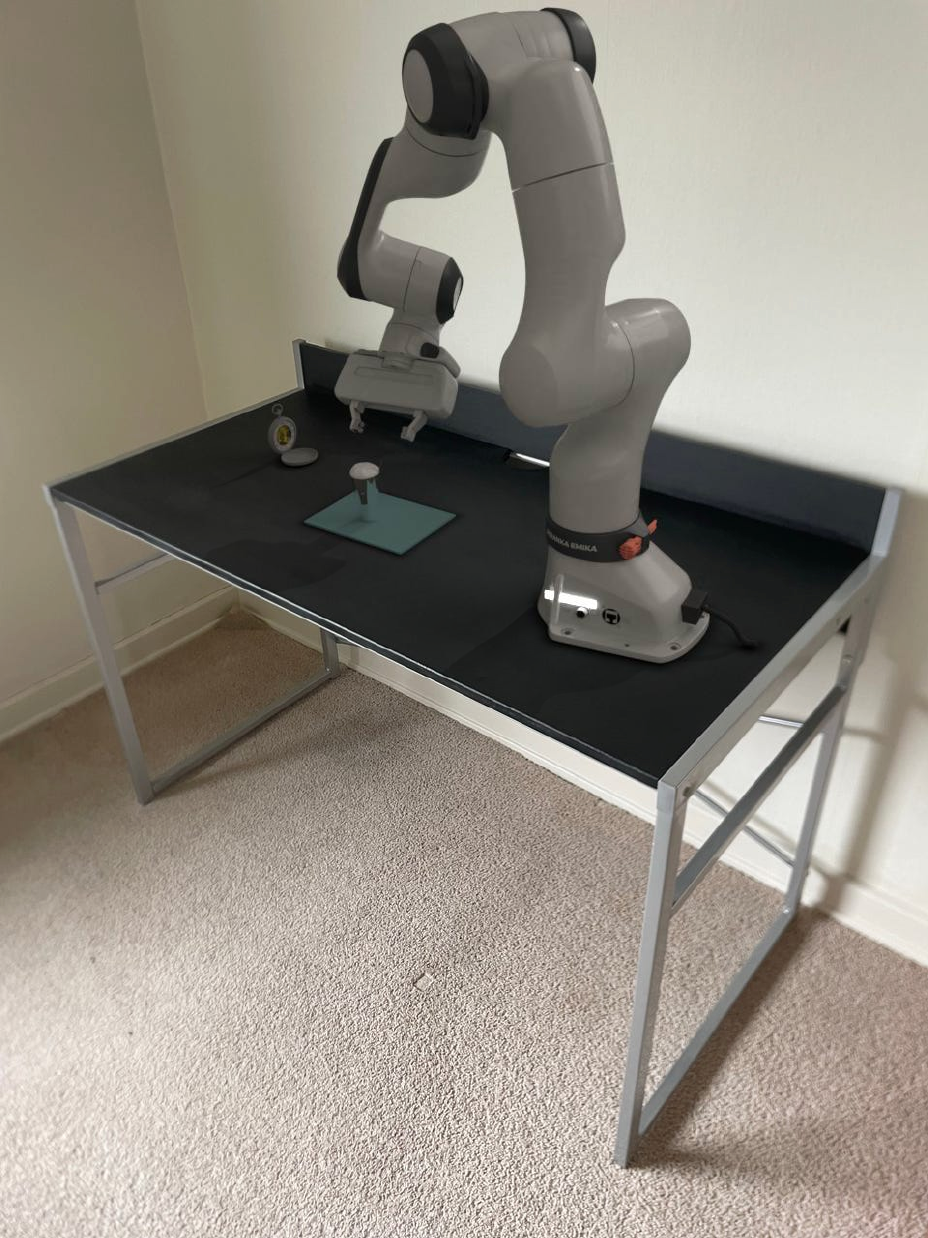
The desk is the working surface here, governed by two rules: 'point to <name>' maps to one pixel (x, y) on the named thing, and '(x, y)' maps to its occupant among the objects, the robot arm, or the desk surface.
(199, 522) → the desk surface
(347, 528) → the mouse pad
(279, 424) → the pocket watch
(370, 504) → the milkshake
